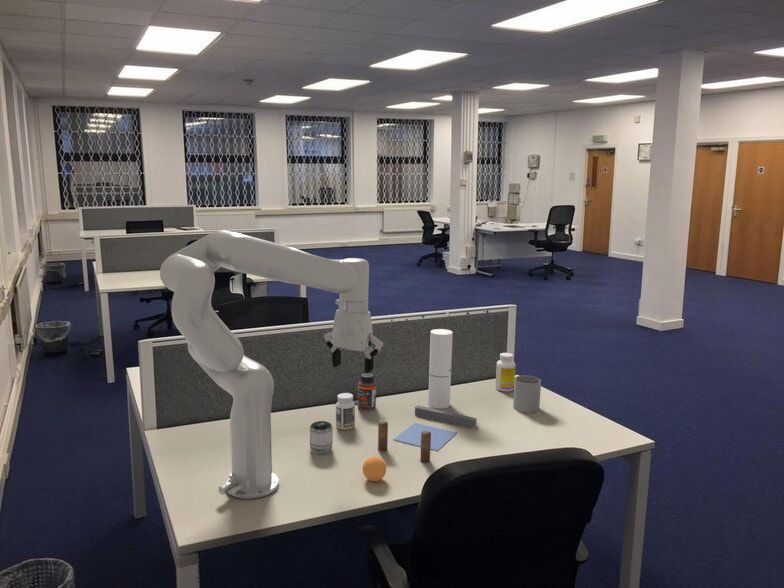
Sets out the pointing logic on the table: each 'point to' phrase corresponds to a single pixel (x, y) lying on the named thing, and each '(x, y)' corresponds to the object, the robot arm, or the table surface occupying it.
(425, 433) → the right post
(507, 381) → the supplement bottle
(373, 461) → the ball
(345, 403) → the pill bottle
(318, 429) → the camera lens
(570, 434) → the table surface
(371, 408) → the supplement bottle
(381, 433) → the left post
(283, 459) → the table surface
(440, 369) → the cylindrical container
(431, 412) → the wall
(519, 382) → the cup
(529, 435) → the table surface
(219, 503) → the table surface
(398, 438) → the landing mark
